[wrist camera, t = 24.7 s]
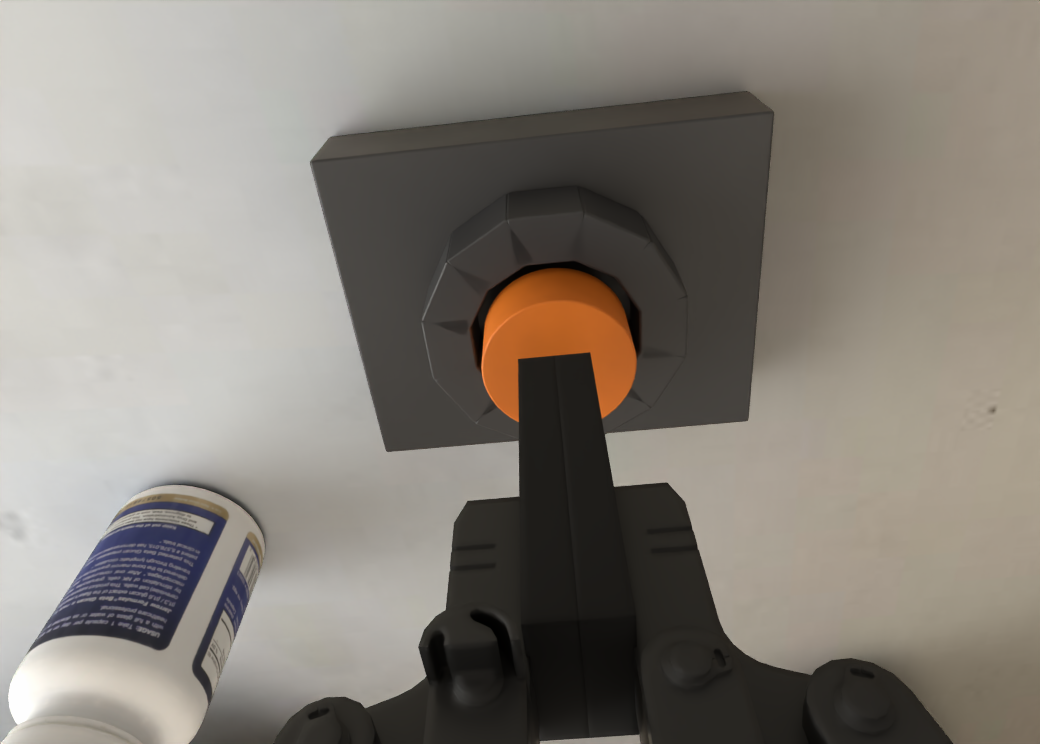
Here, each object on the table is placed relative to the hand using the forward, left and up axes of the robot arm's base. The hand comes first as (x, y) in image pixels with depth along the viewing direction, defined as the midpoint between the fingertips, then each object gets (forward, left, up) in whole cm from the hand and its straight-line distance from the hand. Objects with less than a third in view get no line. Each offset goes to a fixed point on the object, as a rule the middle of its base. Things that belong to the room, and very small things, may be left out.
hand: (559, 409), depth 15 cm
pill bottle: (+16, -3, -7) cm, 18 cm away
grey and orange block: (0, 0, -7) cm, 7 cm away
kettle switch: (0, 0, -3) cm, 3 cm away
